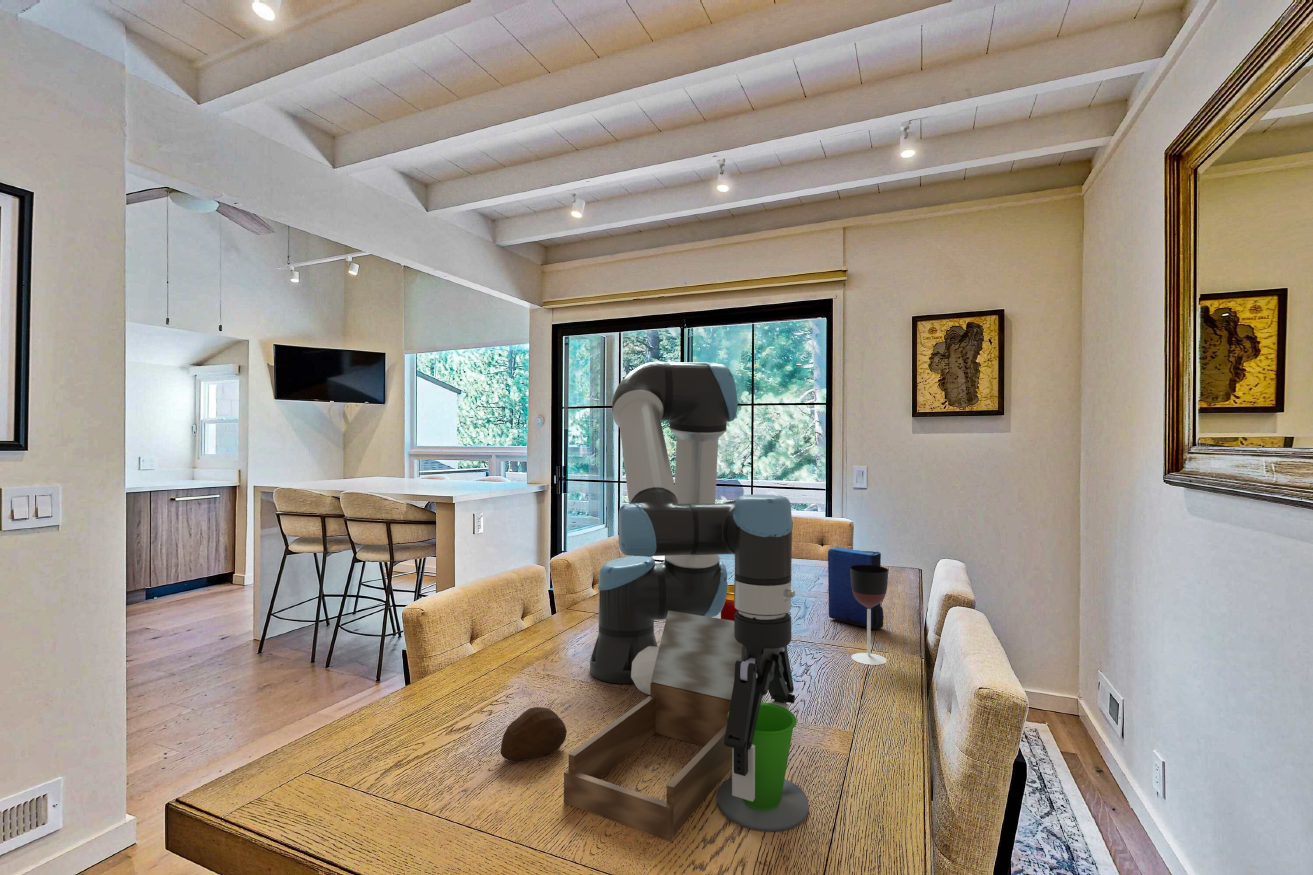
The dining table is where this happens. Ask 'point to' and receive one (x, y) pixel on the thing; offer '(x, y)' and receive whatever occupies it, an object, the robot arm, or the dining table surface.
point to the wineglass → (869, 601)
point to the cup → (771, 754)
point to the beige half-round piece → (644, 668)
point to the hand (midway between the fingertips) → (762, 771)
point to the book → (840, 588)
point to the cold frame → (666, 729)
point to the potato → (533, 735)
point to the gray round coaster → (775, 820)
